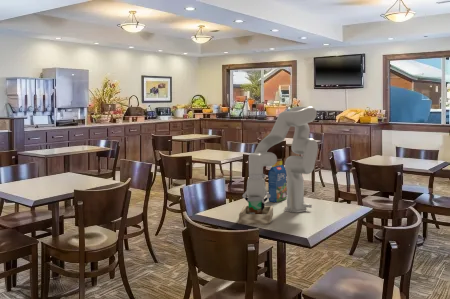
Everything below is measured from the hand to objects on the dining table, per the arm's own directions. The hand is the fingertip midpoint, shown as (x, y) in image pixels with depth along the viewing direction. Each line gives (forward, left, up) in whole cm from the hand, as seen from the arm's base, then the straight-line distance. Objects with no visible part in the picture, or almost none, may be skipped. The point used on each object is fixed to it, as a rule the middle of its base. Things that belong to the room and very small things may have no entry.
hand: (256, 209), depth 233 cm
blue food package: (-8, -47, -6) cm, 48 cm away
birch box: (0, 0, -5) cm, 5 cm away
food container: (-1, 0, -3) cm, 3 cm away
